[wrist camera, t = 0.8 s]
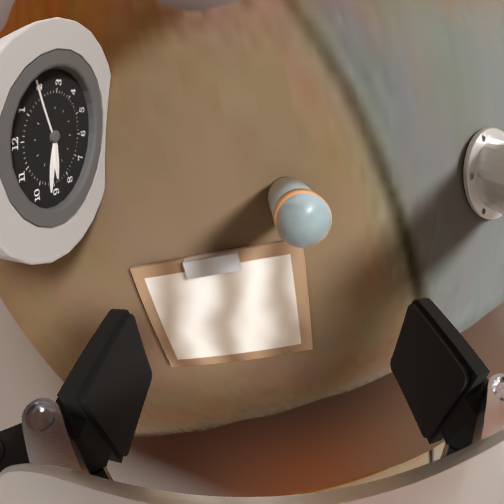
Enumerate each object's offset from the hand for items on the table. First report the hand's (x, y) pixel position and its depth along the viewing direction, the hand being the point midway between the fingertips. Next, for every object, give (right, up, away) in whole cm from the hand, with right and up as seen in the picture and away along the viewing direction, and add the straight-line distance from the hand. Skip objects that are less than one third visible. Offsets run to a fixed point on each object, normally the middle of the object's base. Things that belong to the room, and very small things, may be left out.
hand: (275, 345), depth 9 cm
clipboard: (-4, -4, +26) cm, 26 cm away
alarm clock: (-20, +16, +17) cm, 31 cm away
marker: (+3, +9, +20) cm, 22 cm away
